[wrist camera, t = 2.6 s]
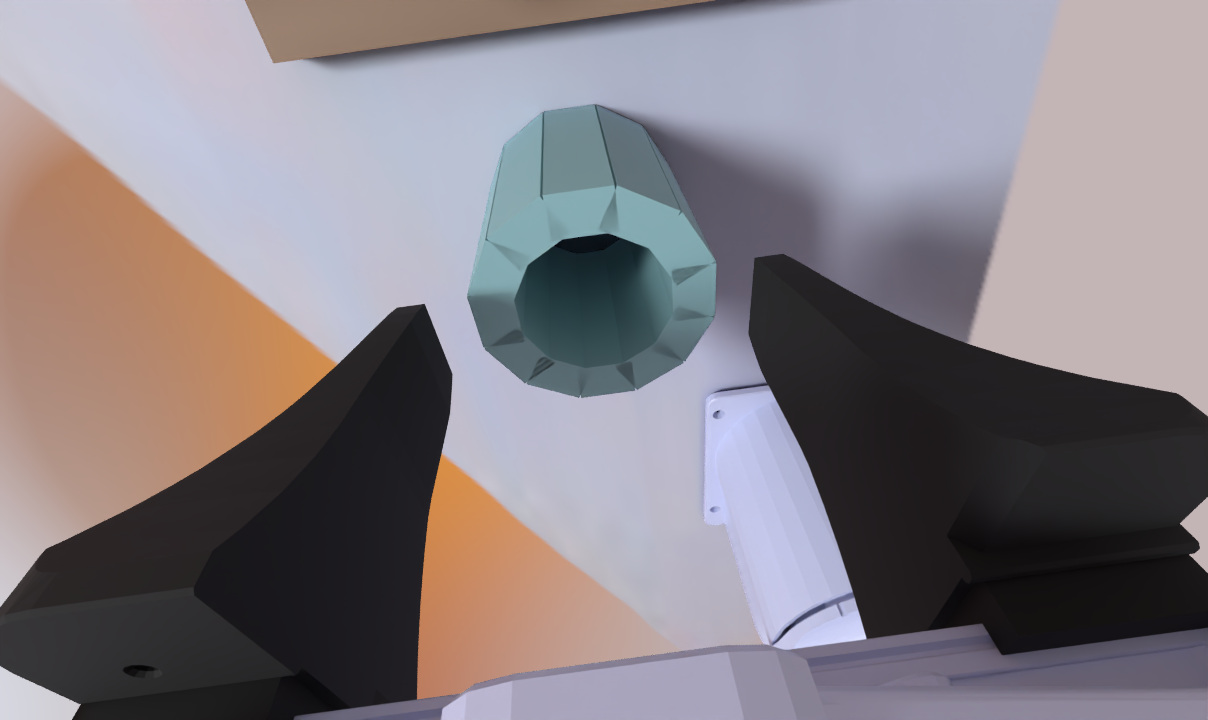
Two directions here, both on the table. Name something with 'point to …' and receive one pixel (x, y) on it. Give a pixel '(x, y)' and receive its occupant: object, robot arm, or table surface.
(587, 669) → the robot arm
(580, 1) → the pin board
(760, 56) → the table surface
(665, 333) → the sleeve
